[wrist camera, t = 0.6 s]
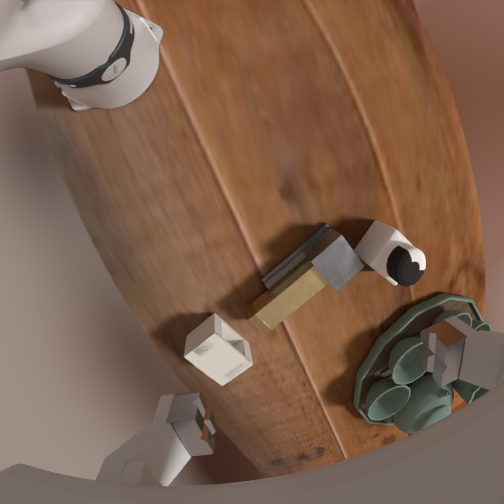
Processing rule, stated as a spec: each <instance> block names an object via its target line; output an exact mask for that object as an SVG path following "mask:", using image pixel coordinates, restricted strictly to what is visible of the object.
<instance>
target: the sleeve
mask: <svg viewBox="0 0 504 504" xmlns="http://www.w3.org/2000/svg"><path fill="white" fill-rule="evenodd" d="M306 257H307V258H308V259H309V260H310V261H311V262H312V264H313V265H314V266H315V267H316V268H317V270H318V271H319V272H320V273H321V274H322V276H323V277H324V278H325V279H326V281H327V282H328V283H329V284H330V286H331V287H332V288H333V289H334V290H335V292H336V291H337V290H338V289H339V288H341V287H342V286H343V285H344V284H345V283H346V282H347V281H349V280H350V279H351V278H352V277H353V276H354V275H355V274H357V273H358V272H359V271H360V270H361V269H362V268H363V267H364V265H363V264H362V262H361V261H360V259H359V258H358V257H357V255H356V254H355V252H354V251H353V249H352V248H351V247H350V245H349V244H348V242H347V241H346V240H345V238H344V237H343V236H342V234H340V233H338V232H337V231H335V230H334V229H332V228H331V227H329V225H328V224H327V223H324V224H323V225H322V226H321V227H320V228H319V229H317V230H316V231H315V232H314V233H313V234H312V235H310V236H309V237H308V238H307V239H306V240H305V241H304V242H302V243H301V244H300V245H299V246H298V247H297V248H295V249H294V250H293V251H292V252H291V253H290V254H288V255H287V256H286V257H285V258H284V259H282V260H281V261H280V262H279V263H278V264H277V265H275V266H274V267H273V268H272V269H271V270H269V271H268V272H267V273H266V274H265V275H264V276H262V277H261V280H262V281H263V282H264V284H265V286H266V287H267V288H268V289H269V288H271V287H272V286H273V285H274V284H276V283H277V282H278V281H279V280H280V279H281V278H283V277H284V276H285V275H286V274H287V273H289V272H290V271H291V270H292V269H293V268H295V267H296V266H297V265H298V264H299V263H300V262H302V261H303V260H304V259H305V258H306Z"/></svg>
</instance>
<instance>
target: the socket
mask: <svg viewBox="0 0 504 504" xmlns="http://www.w3.org/2000/svg"><path fill="white" fill-rule="evenodd" d="M184 358H186V359H187V360H188V361H190V362H191V363H192V364H193V365H195V366H196V367H197V368H199V369H200V370H201V371H203V372H204V373H205V374H207V375H208V376H209V377H211V378H212V379H213V380H215V381H216V382H218V383H219V384H220V385H222V386H223V385H225V384H226V383H228V382H229V381H231V380H232V379H233V378H235V377H236V376H238V375H239V374H241V373H242V372H244V371H245V370H246V369H248V368H249V367H251V366H252V365H253V363H252V357H251V352H250V347H249V343H248V342H247V341H246V340H245V339H244V338H242V337H241V336H240V335H239V334H238V333H237V332H236V331H234V330H233V329H232V328H231V327H230V326H229V325H228V324H227V323H226V322H224V321H223V320H222V319H221V318H220V317H219V316H218V315H217V314H216V313H214V314H212V315H211V316H210V317H209V318H207V319H206V320H205V321H204V322H203V323H201V324H200V325H199V326H198V327H196V328H195V329H194V330H193V331H192V332H190V333H189V334H188V335H187V338H186V345H185V352H184Z"/></svg>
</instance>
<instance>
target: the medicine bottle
mask: <svg viewBox="0 0 504 504" xmlns="http://www.w3.org/2000/svg"><path fill="white" fill-rule="evenodd" d="M353 251H354V252H355V254H356V255H357V256H358V257H359V258H360V259H361V260H363V261H364V262H365V263H366V264H368V265H369V266H370V267H371V268H373V269H374V270H375V271H376V272H378V273H379V274H380V275H382V276H383V277H384V278H385V279H387V280H388V281H389V282H391V283H392V284H393V285H395V286H396V285H397V284H400V285H401V286H405V287H407V286H411V285H413V284H415V283H416V282H417V281H419V279H420V278H421V277H422V275H423V273H424V271H425V266H426V260H425V256H424V254H423V252H422V251H421V250H419V249H417V248H415V247H414V246H413V245H412V244H411V243H410V242H409V241H408V240H407V239H406V238H405V237H404V236H403V235H402V234H401V233H400V232H399V231H398V230H397V229H395V228H393V227H390V226H388V225H386V224H384V223H381V222H379V221H377V220H375V221H374V222H373V223H372V225H371V226H370V228H369V229H368V231H367V232H366V234H365V235H364V236H363V238H362V239H361V241H360V242H359V243H358V245H357V246H356V248H355V249H354V250H353Z"/></svg>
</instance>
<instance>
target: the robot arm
mask: <svg viewBox="0 0 504 504" xmlns="http://www.w3.org/2000/svg"><path fill="white" fill-rule="evenodd" d="M151 28H152V30H151ZM162 36H163V30H162V28H161V27H160V26H158V25H156V24H154V23H152V22H150V21H148V20H146V19H144V18H142V17H140V16H138V15H136V14H134V13H132V12H130V11H128V10H126V9H124V8H122V7H121V6H120V5H119V4H117V3H116V2H114V1H113V0H0V71H4V70H8V69H12V68H20V67H24V68H30V69H34V70H38V71H41V72H44V73H46V74H47V75H48V76H49V77H50V78H51V79H53V80H54V81H55V82H54V83H55V85H56V86H57V87H58V88H60V87H61V89H62V94H63V95H64V96H66V97H67V98H68V100H69V102H70V104H71V106H72V108H73V109H74V110H75V111H78V112H79V111H84V110H87V109H90V108H102V109H112V108H117V107H120V106H123V105H126V104H128V103H130V102H131V101H133V100H135V99H136V98H137V97H139V96H140V95H141V94H142V93H143V92H144V91H145V90H146V89H147V88H148V86H149V85H150V84H151V82H152V81H153V79H154V77H155V75H156V72H157V69H158V65H159V44H160V42H161V39H162ZM420 340H421V341H422V342H423V344H422V346H421V348H420V360H421V364H422V365H423V367H424V368H425V370H426V371H428V372H432V373H433V378H434V380H435V381H436V382H437V383H438V384H439V385H440V386H441V387H442V386H444V385H446V384H448V383H450V382H452V381H454V380H456V379H458V378H459V379H460V380H463V381H466V382H468V383H471V384H474V385H477V386H480V387H482V388H485V389H488V390H490V391H488V392H487V393H485V394H484V395H482V396H481V397H479V398H478V399H476V400H475V401H473V402H471V403H470V404H468V405H467V406H465V407H463V408H461V409H460V410H458V411H456V412H455V413H453V414H451V415H449V416H447V417H445V418H444V419H442V420H440V421H438V422H436V423H434V424H432V425H430V426H428V427H426V428H424V429H422V430H420V431H418V432H416V433H413V434H411V435H409V436H407V437H404V438H402V439H400V440H398V441H395V442H393V443H390V444H388V445H385V446H383V447H380V448H378V449H375V450H372V451H369V452H367V453H364V454H361V455H358V456H355V457H352V458H349V459H346V460H343V461H339V462H336V463H333V464H329V465H325V466H322V467H318V468H314V469H310V470H306V471H302V472H297V473H293V474H288V475H283V476H277V477H272V478H266V479H260V480H253V481H246V482H237V483H228V484H217V485H200V486H168V485H169V484H170V483H171V482H172V480H173V479H174V478H175V477H176V475H177V474H178V473H179V472H180V471H181V469H182V468H183V467H184V466H185V464H186V463H187V462H188V460H189V459H190V458H191V456H197V455H207V454H213V453H214V444H215V440H214V438H213V436H212V435H213V434H214V433H215V431H216V423H215V417H214V414H213V411H212V409H211V408H210V407H209V406H207V405H206V403H207V398H206V396H205V394H204V392H202V391H196V392H188V393H180V394H171V395H163V396H162V397H161V399H160V402H159V404H158V407H157V411H156V413H155V416H154V419H153V422H152V424H148V425H147V426H146V427H144V428H143V429H142V430H141V431H139V432H138V433H137V434H136V435H134V436H133V437H132V438H131V439H129V440H128V441H127V442H126V443H124V444H123V445H122V446H120V447H119V448H118V449H116V450H115V451H114V452H112V453H111V454H110V455H109V456H107V457H106V458H105V459H104V462H103V464H102V466H101V469H100V471H99V474H98V476H97V478H96V480H89V479H83V478H77V477H72V476H68V475H62V474H58V473H54V472H50V471H46V470H42V469H39V468H35V467H32V466H28V465H25V464H16V465H13V466H10V467H8V468H6V469H4V470H2V471H0V504H504V333H500V332H491V331H483V330H480V331H476V330H475V329H473V328H472V327H470V326H469V325H467V324H466V323H465V322H463V321H462V320H460V319H459V318H457V317H456V316H451V317H448V318H446V319H444V320H442V321H441V322H439V323H437V324H435V325H432V326H430V327H428V328H425V329H423V330H422V331H421V334H420Z"/></svg>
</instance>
